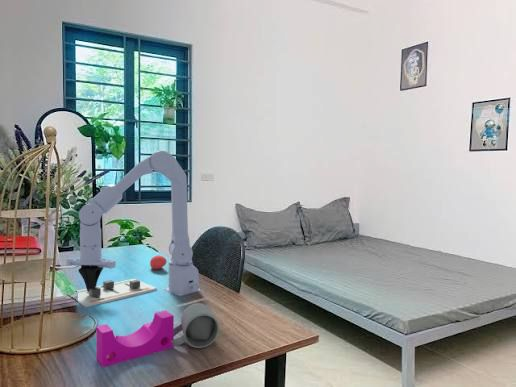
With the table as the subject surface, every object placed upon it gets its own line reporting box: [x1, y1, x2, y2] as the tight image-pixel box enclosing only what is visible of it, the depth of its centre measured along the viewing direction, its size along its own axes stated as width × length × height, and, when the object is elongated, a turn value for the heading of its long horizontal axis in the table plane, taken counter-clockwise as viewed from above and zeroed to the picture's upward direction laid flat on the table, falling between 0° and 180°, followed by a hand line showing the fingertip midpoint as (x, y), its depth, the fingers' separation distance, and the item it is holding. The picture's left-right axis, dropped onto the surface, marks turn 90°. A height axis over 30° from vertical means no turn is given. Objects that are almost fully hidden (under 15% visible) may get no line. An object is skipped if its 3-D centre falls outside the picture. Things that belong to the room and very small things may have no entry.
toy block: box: [95, 310, 175, 368], centre depth 83 cm, size 15×6×8 cm, turn 129°
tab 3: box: [130, 279, 141, 289], centre depth 121 cm, size 2×2×2 cm
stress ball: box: [149, 255, 167, 270], centre depth 146 cm, size 5×9×6 cm, turn 27°
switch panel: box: [76, 278, 158, 308], centre depth 119 cm, size 14×22×2 cm, turn 136°
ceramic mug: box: [171, 302, 220, 349], centre depth 87 cm, size 11×8×8 cm
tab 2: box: [102, 279, 115, 289], centre depth 120 cm, size 2×2×2 cm
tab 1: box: [89, 286, 101, 297], centre depth 113 cm, size 2×2×2 cm
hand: (91, 290), depth 115 cm, fingers closed
